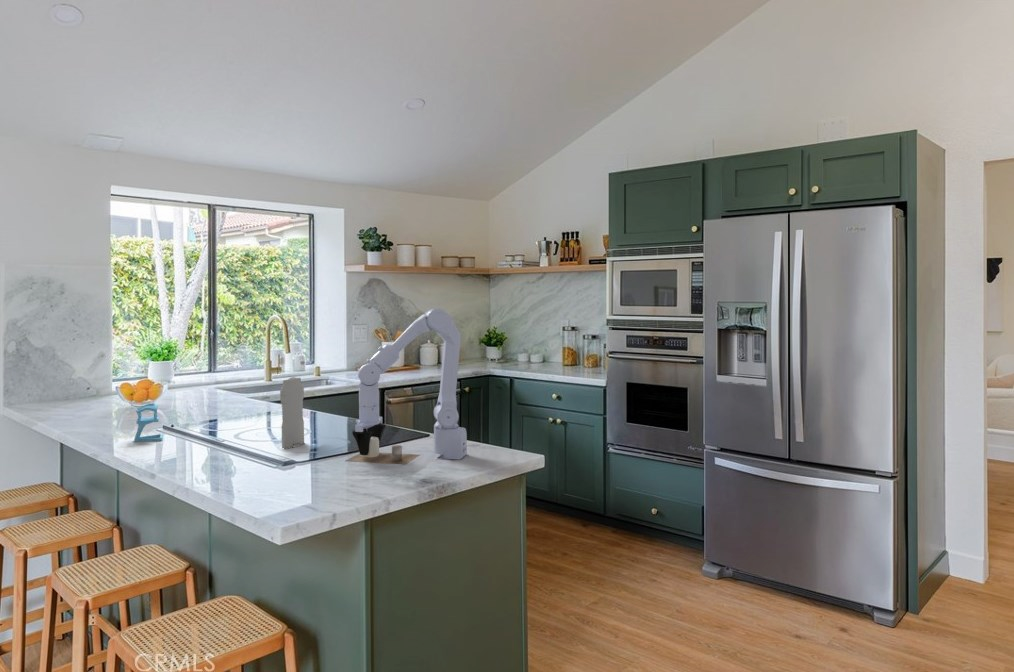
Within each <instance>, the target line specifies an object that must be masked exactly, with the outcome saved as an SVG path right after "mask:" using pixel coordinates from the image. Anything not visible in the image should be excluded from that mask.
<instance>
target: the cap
mask: <svg viewBox="0 0 1014 672" xmlns="http://www.w3.org/2000/svg"><path fill="white" fill-rule="evenodd" d="M379 453H380V446H379V439H378V437H371V439H370V443H369V452H368V455H360V456H362V457H377V456H378V455H379Z"/></svg>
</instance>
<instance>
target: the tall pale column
mask: <svg viewBox="0 0 1014 672" xmlns="http://www.w3.org/2000/svg"><path fill="white" fill-rule="evenodd" d="M304 398H305V387H304V386H303V383H302V379H301V377H295V376H291V377H289V378H286V379H283V381H282V386H281V390H279V399H280V403H281V415H282V417H281V418H282V422H281V449H282V448H288V449H292V448H297V447H300V446H302V445H304V444H305V421H304V412H303V410H304V407H303V405H304V401H303V400H304ZM301 444H302V445H301ZM291 447H292V448H291Z"/></svg>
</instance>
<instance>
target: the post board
mask: <svg viewBox="0 0 1014 672" xmlns="http://www.w3.org/2000/svg"><path fill="white" fill-rule="evenodd" d="M419 456H420V454H416V453H415V454H414V453H403V446H402V445H401V444H395V445H392V446H391V452H379V455H378V456H377V457H362V456H360V452H359V453H357V454H356V455H354V456H352V457H350V458H347V459H346V460H345V462H355V463H369V464H370V463H371V464H373V463H374V464H389V465H403V466H404V465H407V464H408V463H410V462H412V461H413V460H415V459H416V458H418V457H419Z"/></svg>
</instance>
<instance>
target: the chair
mask: <svg viewBox="0 0 1014 672" xmlns="http://www.w3.org/2000/svg"><path fill="white" fill-rule="evenodd" d="M158 407H159V405H158V403H148V404H144V405H143V406H141V407H137V408H136V409H137V410H135V412H136V415H137V419H136V421H135V422H136V425H138V427H137V431H136V434H135V435H134V440H133V442H135V443H137V442H161V441H163V433H157V434H151V435H144V436H143V435H142V432H143V430H144V428H145V426H147V425H149V424H153V423H159V419H160V417H159V415H158ZM145 411H150V412H153V416H151V417H142V416H143V415H142V412H145ZM141 435H142V436H141Z"/></svg>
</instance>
